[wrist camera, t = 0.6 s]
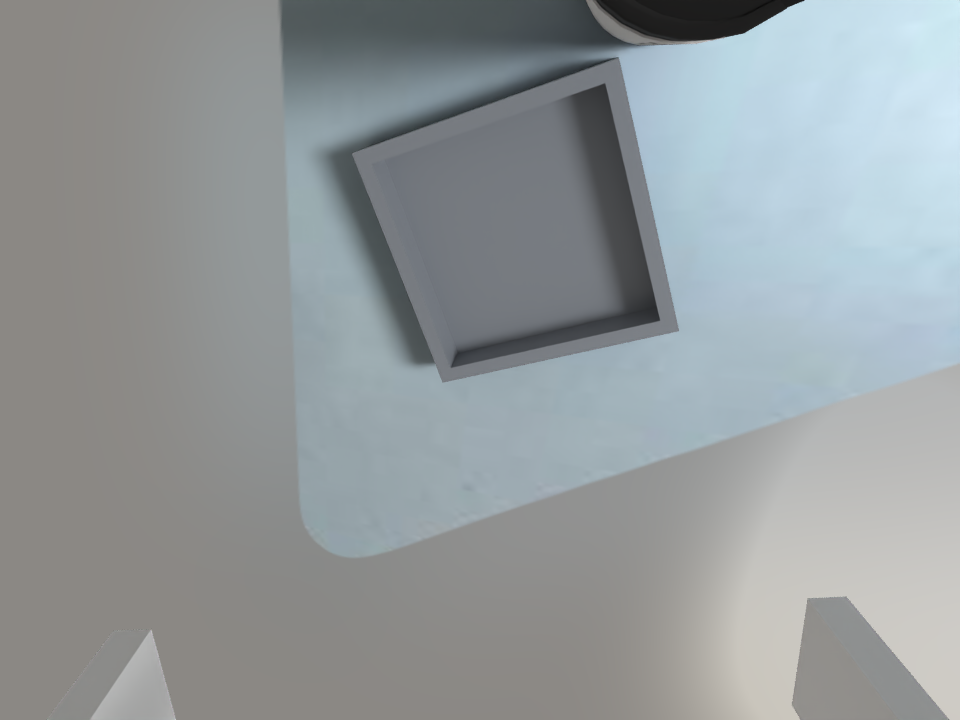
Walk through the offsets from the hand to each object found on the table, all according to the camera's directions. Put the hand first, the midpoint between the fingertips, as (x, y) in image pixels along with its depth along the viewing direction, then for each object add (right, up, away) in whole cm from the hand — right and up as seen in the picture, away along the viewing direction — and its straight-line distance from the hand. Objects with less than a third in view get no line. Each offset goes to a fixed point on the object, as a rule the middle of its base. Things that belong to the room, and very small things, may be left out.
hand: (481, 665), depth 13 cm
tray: (+2, +13, +22) cm, 25 cm away
